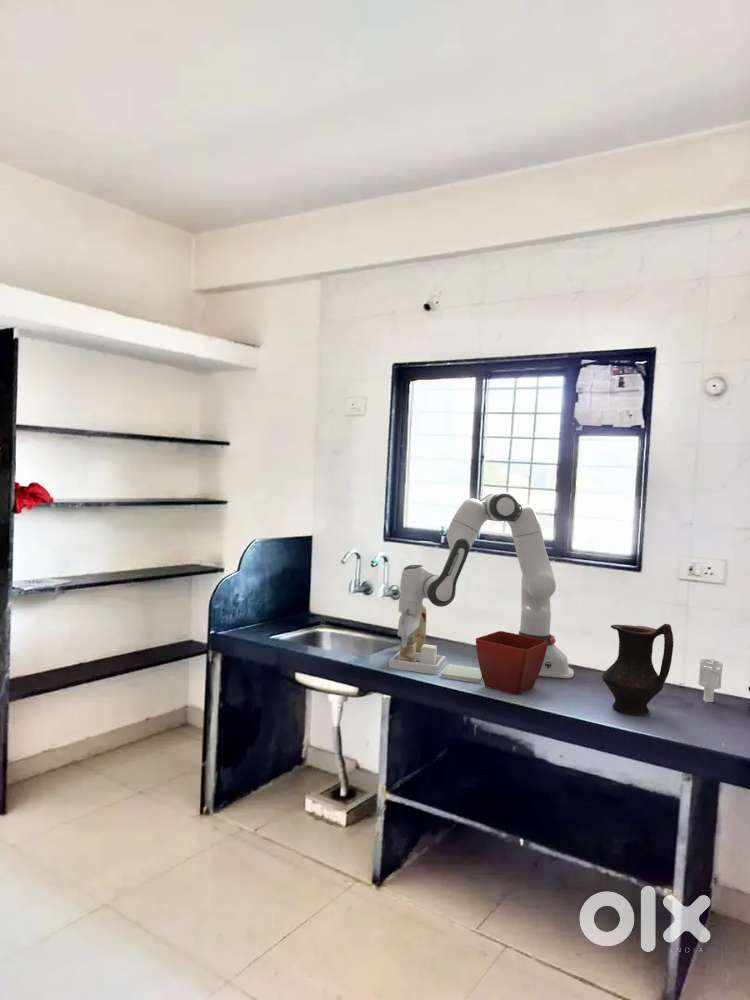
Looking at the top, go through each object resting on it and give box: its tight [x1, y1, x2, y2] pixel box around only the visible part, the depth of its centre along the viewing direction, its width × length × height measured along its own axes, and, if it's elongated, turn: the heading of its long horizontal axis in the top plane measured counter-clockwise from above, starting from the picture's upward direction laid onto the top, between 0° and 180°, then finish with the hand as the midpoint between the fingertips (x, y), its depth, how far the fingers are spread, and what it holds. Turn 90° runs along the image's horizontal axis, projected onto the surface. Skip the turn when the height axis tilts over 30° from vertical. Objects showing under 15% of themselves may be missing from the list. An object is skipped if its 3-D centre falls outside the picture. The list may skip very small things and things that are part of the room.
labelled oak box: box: [399, 642, 416, 663], centre depth 259 cm, size 5×5×8 cm
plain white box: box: [419, 643, 438, 665], centre depth 257 cm, size 5×5×8 cm
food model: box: [407, 605, 427, 653], centre depth 277 cm, size 10×7×20 cm
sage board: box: [440, 663, 483, 684], centre depth 249 cm, size 14×14×2 cm
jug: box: [601, 623, 674, 716], centre depth 219 cm, size 21×18×30 cm
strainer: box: [697, 658, 724, 703], centre depth 236 cm, size 7×7×15 cm
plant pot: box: [475, 630, 548, 696], centre depth 237 cm, size 19×19×17 cm
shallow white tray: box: [388, 650, 447, 676], centre depth 258 cm, size 18×16×3 cm
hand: (407, 644), depth 259 cm, fingers open, 8 cm apart
